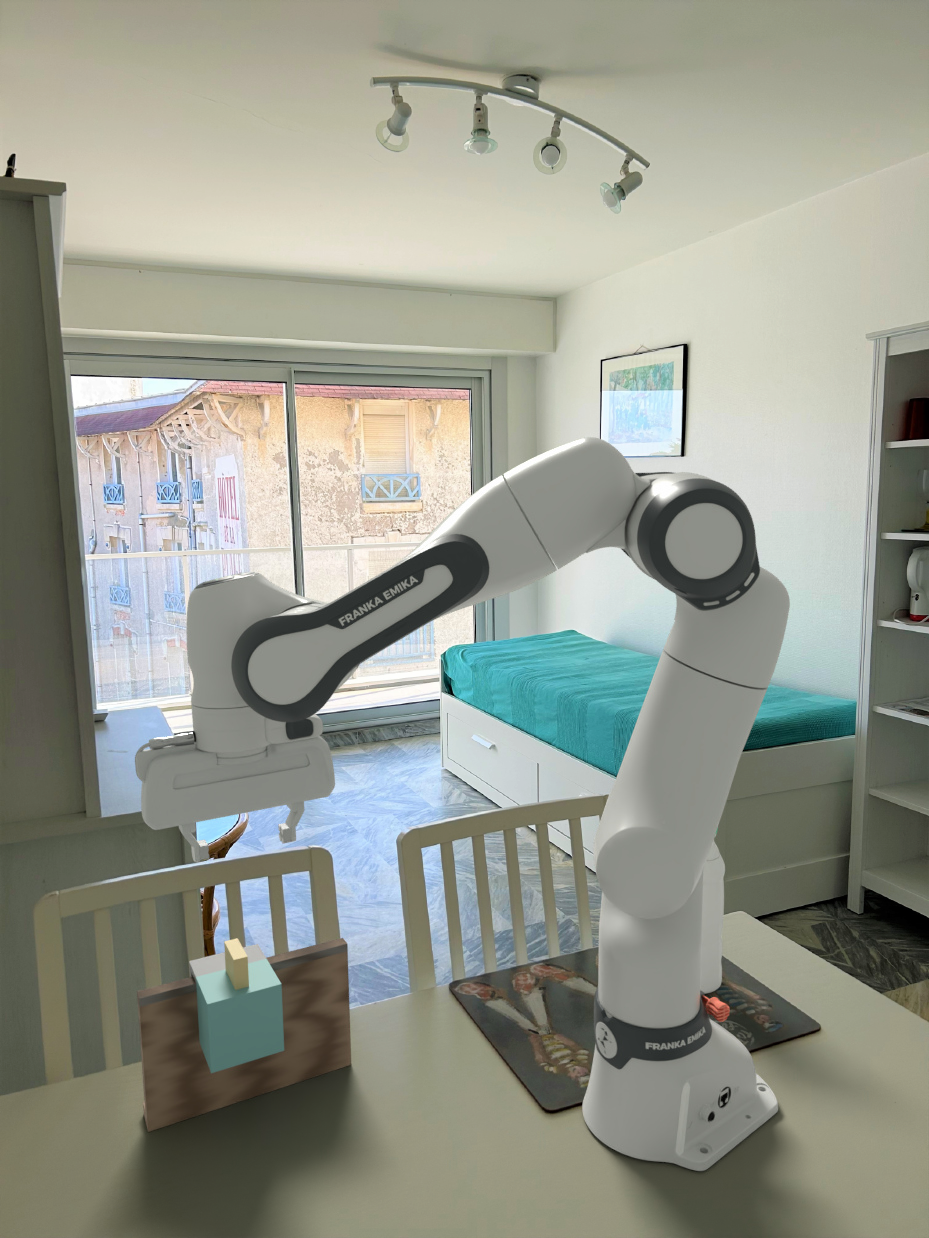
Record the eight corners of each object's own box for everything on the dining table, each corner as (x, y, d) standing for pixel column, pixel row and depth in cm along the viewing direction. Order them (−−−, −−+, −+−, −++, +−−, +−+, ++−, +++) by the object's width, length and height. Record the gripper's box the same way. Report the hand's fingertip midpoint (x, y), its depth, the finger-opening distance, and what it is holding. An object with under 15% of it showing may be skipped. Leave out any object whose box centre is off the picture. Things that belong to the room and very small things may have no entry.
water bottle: (723, 998, 122) (729, 826, 119) (671, 993, 124) (675, 823, 120) (719, 971, 129) (724, 808, 125) (670, 966, 130) (673, 805, 127)
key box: (260, 1005, 106) (256, 916, 105) (284, 1050, 98) (280, 954, 96) (192, 1024, 103) (187, 932, 101) (211, 1073, 94) (205, 973, 92)
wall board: (342, 1049, 112) (338, 931, 110) (351, 1064, 109) (347, 943, 107) (143, 1113, 101) (134, 983, 98) (148, 1131, 98) (138, 998, 95)
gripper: (137, 748, 86) (149, 882, 88) (336, 718, 95) (343, 840, 97) (129, 734, 91) (140, 860, 93) (317, 706, 101) (324, 822, 103)
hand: (245, 850), depth 95 cm, fingers open, 8 cm apart
